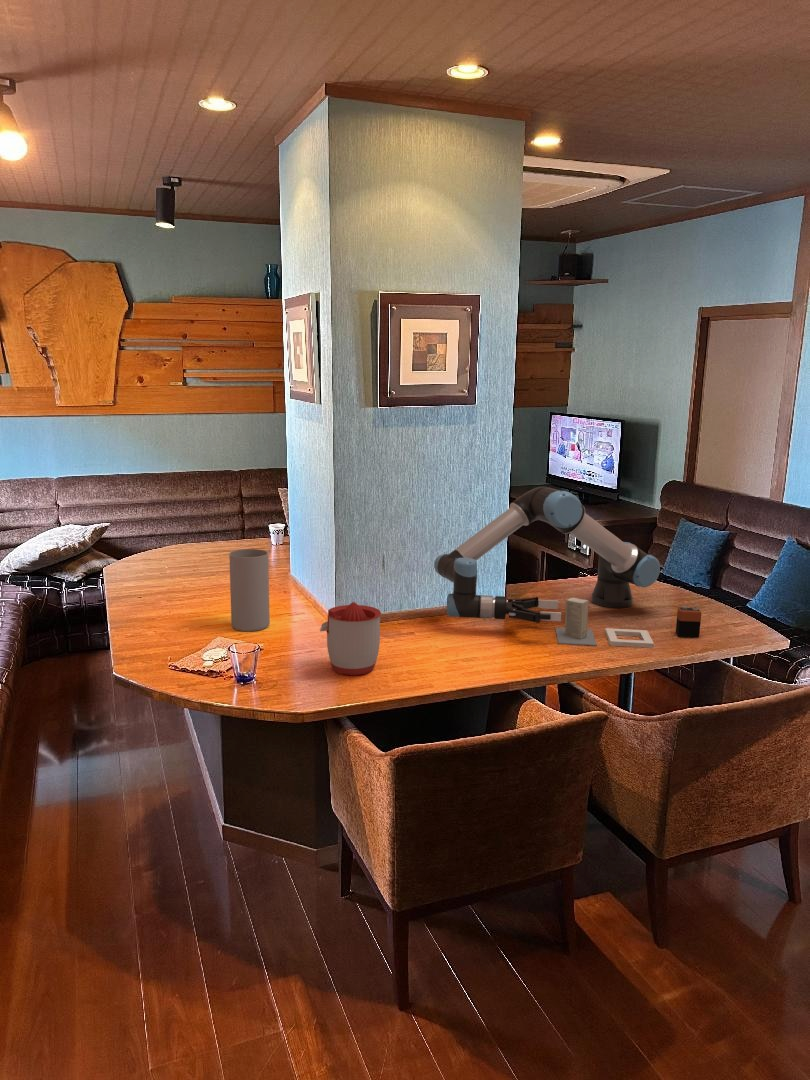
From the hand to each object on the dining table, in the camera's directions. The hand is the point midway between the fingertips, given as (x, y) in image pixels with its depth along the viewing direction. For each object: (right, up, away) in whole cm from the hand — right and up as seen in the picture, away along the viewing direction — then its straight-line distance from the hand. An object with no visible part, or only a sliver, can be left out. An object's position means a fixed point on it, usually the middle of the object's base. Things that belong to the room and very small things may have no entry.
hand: (559, 610), depth 263 cm
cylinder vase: (-102, -6, +7) cm, 102 cm away
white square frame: (+22, -9, -1) cm, 24 cm away
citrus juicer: (-66, -14, -30) cm, 74 cm away
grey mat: (+5, -9, +1) cm, 10 cm away
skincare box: (+5, -8, +1) cm, 10 cm away
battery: (+43, -9, +5) cm, 44 cm away
